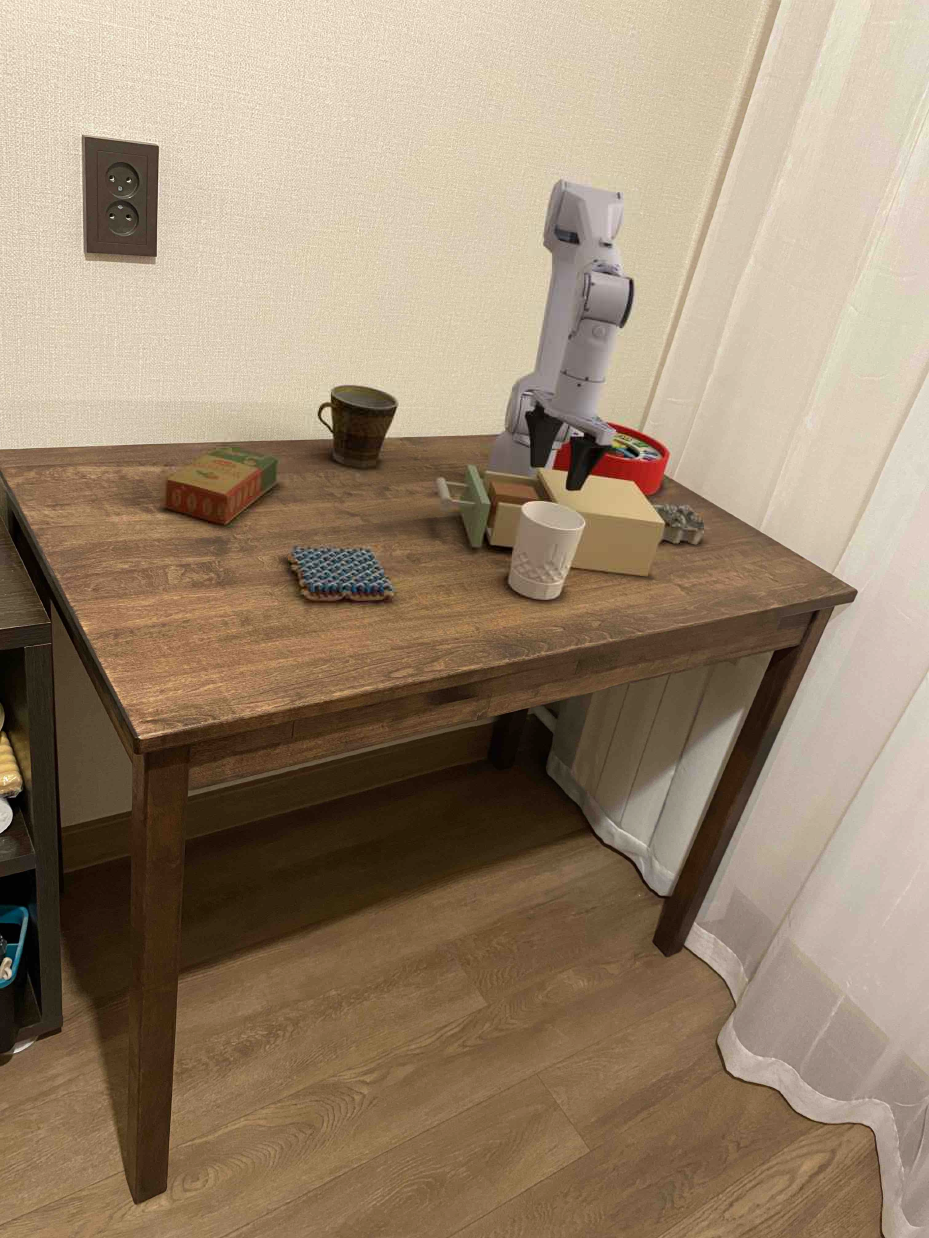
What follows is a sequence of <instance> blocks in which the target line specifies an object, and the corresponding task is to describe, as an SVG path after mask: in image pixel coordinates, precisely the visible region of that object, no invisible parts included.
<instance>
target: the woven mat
mask: <svg viewBox="0 0 929 1238" xmlns="http://www.w3.org/2000/svg"><path fill="white" fill-rule="evenodd" d="M289 553H290V555H289V556H287V562H290V563H292V564H291V566H290V569H291V571H292V572H295V573H296V574H297V578H298V580H299V581H298V584H299V585H300V586H301V590H300V594H301V595H303V597H305V599H308V600H311V601H313V602H314V601H315V602H316V601H318V602H321V601H322V602H335V601H339V600H342V599H349V600H353V601H355V602H357V601H358V602H360V601H381V600H384V599H389V600H390V599H392V598H393V597H395V593H394V592H393V586H392V585H391V584H392V581H390V580H389V579H387V578H388V574H387V573H385V570H384V569H383V567H382V566H381V565H382V564H381V562H380V561H378V560H377V558H378V556H376V555H375V552H374V551H373V552H372V550H371V549H369V548H365V550H364V547H362V546H361V547H359V550H358V549H357V548H352V549H351V547H350V546H349V547H346V550H345V548H339V549H338V546H334V547H333V548H326V549H325V547H324V546H320V547H319V548H318V547H313V549H312V548H311V545H307V547H306V548H305V547H300V550H299V549H298V545H293V549H292V551H290V552H289ZM386 577H387V578H386ZM303 587H304V588H303Z"/></svg>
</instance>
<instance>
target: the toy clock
mask: <svg viewBox="0 0 929 1238" xmlns="http://www.w3.org/2000/svg"><path fill="white" fill-rule="evenodd" d="M603 421H604V420H603ZM604 422H605V423H606V424H608V425H609V426H610V427H612V428H613V429H615V430H616V433H615V436H614V439H613V443H612V444H613V445H612V448H611V450H610V451H609V452H608V453H607V454H605V455H604V456H603V458H602V459H601V460H600V461H599V462H598V463H597V464H596V466H595V467H594V468H593V470H592V471H591V473H590V474H589V475H593V476H600V477H606V478H613V479H620V480H627V481H633V482H634V483H635V484H636V485H637V487H638V488H639V489H640V491H641V492H642V493H643V495H644V496H649V495H652V494H654V493H656V492H657V491H659V489H660V486H661V483H662V480H663V477H664V475H665V470H666V468H667V465H668V463H669V459H670V455H671V454H670V451H669V449H668V448H667V447H666V446H665V445H664V444H662V442H660V441H658V440H657V439H655V438H654V437H651V436H650V435H647V434H646V433H643V432H640V431H639V430H635V429H633V428H630V427H628V426H623V425H621V424H618V423H613V422H609V421H604ZM573 436H582V437H583V436H584V433H582V432H580V431H578V430H577V429H575V431H574V434H573ZM570 454H571V450H570V441H569V442H567V443H566V444H562V446H561V449H557V453H556V457H555V460H554V464H553V468H552V470H559V471H566V472H568V470H569V465H570Z"/></svg>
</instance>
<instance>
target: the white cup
mask: <svg viewBox="0 0 929 1238" xmlns="http://www.w3.org/2000/svg"><path fill="white" fill-rule="evenodd" d="M584 526H585V520H584V518H583V517H582V516H581V515H580V514H579V513H577V512H576V511H574V510H572V509H570V508H568V507H565V506H562V505H559V504H556V503H551V502H545V501H531V502H527V503H525V504H524V505H523V506H522V508H521V513H520V517H519V522H518V527H517V532H516V536H515V543H514V547H512V553H511V557H510V563H511V564H510V570H509V573H508V579H507V584H508V585H509V586H510V588H511V589H512V590H513V591H515V592H516V593H518V594H520V595H521V596H524V597H527V598H529V599H534V600H540V601H549V600H554V599H556V598H557V597H559V596H560V594H561V592H562V589H563V587H564V583H565V580H566V577H567V575H568V573H569V571H570V569H571V567H570V566H571V563H572V561H573V558H574V555H575V552H576V549H577V546H578V544H579V541H580V538H581V535H582V532H583V529H584Z"/></svg>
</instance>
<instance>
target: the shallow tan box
mask: <svg viewBox="0 0 929 1238" xmlns="http://www.w3.org/2000/svg"><path fill="white" fill-rule="evenodd" d="M567 475H568V472H566V471H559V470H554V469H553V468H552V469H545V468H538V469H537V473H536V477H535V478H540V479H541V481H542V483H543V485H544V487H545V489H546V490H547V492H548V494H549V496H550V498H551V500H552V501H553V503H556V504H559V505H562V506H565V507H568V508H570V509H572V510H574V511H576V512H577V513H579V514H580V515H581V516H582V517H583V518H584V520H585V526H584V529H583V532H582V535H581V538H580V541H579V544H578V546H577V549H576V552H575V555H574V558H573V561H572V563H571V566H570V568H575V569H583V570H592V571H598V572H599V571H600V572H606V573H607V572H608V573H614V574H615V573H617V574H622V575H631V576H632V575H633V576H639V577H648V575H649V571H650V569H651V565H652V563H653V560H654V558H655V555H656V551H657V548H658V547H659V540H660V537H661V534H662V531H663V528H664V525H665V522H664V521H663V519H662V518H661V517H660V516H659V514H658V513H657V512H656V510H655V509H654V508H653V506H652V505H653V504H651V502H650V501H649V499H648V498H646V495H643V493H642V492H641V491H640V489H639V488H638V487H637V485H636V484H635V483H634V482H633V481H627V480H620V479H613V478H606V477H600V476H593V475H589V476H588V478H587V479H586V481H585V483H584V485H583V486H582V488H581V490H580V491H568V490H566V479H567Z"/></svg>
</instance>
